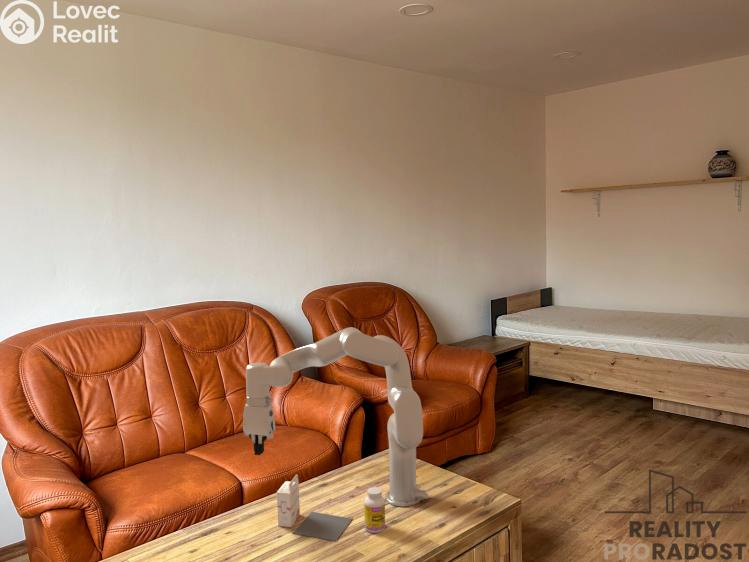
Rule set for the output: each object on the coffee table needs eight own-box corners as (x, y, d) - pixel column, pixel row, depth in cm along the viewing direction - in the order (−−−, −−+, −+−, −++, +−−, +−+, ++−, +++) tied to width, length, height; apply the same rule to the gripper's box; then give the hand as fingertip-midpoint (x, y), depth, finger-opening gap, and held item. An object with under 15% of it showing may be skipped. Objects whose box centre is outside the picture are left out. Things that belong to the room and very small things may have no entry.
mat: (352, 519, 191) (352, 518, 191) (336, 541, 178) (335, 540, 178) (311, 512, 196) (311, 511, 196) (292, 533, 183) (292, 532, 183)
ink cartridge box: (286, 513, 196) (285, 472, 194) (300, 514, 195) (299, 473, 193) (277, 526, 188) (275, 483, 186) (291, 527, 187) (290, 484, 185)
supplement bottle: (370, 536, 181) (369, 497, 180) (361, 526, 187) (360, 488, 186) (388, 530, 184) (388, 492, 183) (379, 521, 190) (378, 484, 189)
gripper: (283, 399, 191) (284, 452, 193) (244, 395, 196) (245, 446, 198) (272, 406, 184) (273, 461, 186) (232, 401, 189) (233, 455, 191)
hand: (259, 453), depth 192 cm, fingers closed
